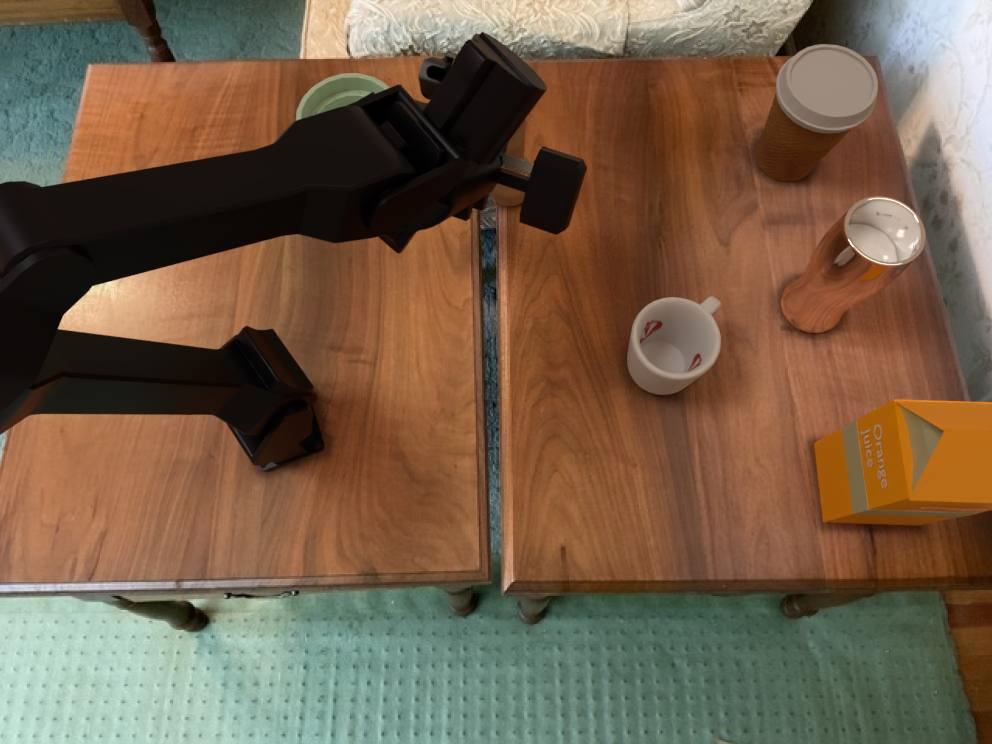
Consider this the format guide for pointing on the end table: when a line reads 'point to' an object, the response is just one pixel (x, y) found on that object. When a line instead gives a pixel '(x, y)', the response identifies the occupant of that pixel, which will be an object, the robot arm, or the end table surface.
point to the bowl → (338, 93)
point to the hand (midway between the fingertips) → (498, 153)
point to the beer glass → (854, 262)
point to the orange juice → (908, 464)
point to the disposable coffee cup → (814, 109)
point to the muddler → (515, 149)
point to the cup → (673, 343)
